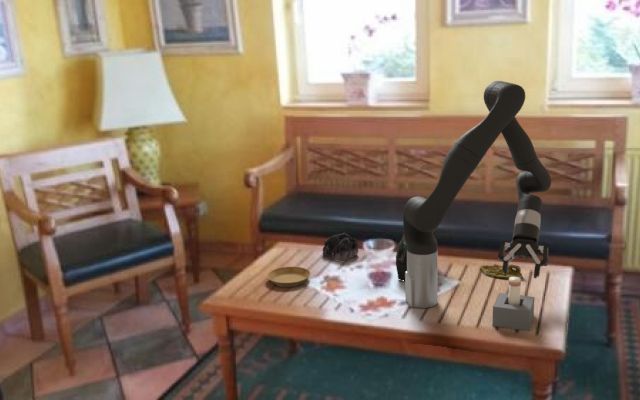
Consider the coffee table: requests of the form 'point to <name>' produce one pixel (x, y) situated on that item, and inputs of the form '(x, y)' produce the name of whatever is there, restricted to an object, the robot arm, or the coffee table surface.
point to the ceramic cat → (404, 257)
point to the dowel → (514, 291)
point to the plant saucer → (289, 276)
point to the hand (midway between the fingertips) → (520, 275)
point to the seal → (501, 271)
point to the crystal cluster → (340, 247)
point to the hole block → (513, 312)
